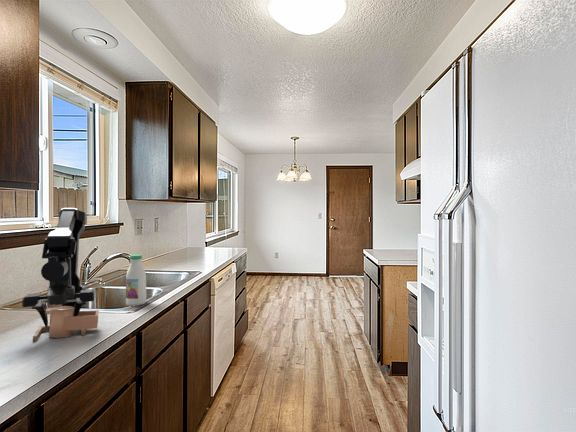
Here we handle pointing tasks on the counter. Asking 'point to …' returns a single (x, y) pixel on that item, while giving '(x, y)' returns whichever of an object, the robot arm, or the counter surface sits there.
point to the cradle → (43, 329)
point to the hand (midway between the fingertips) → (60, 325)
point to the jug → (70, 321)
